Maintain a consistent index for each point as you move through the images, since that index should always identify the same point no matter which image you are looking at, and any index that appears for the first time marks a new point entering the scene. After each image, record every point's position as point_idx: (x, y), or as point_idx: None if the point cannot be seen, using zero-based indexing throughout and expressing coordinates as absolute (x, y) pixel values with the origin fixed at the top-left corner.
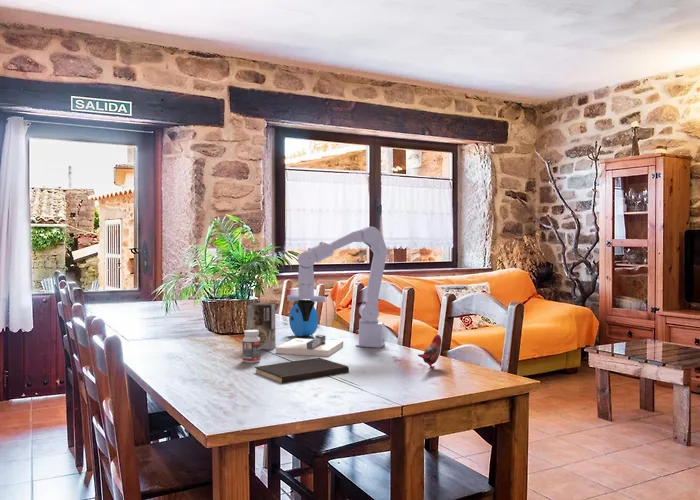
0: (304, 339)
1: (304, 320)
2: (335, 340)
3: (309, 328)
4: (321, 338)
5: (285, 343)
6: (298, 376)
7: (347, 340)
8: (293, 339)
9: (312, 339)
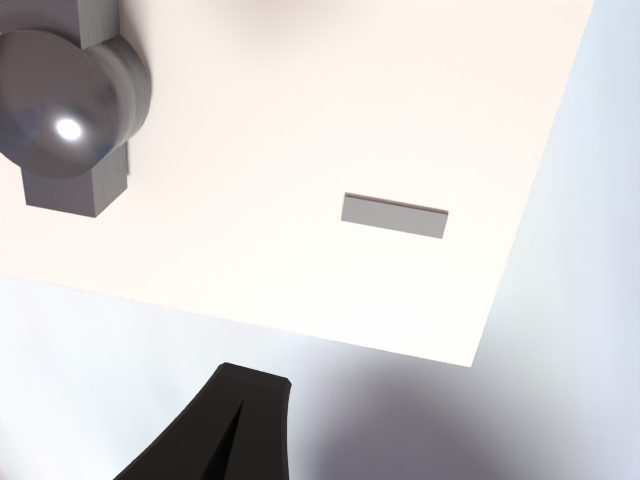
0: (347, 306)
1: (258, 378)
2: (14, 275)
3: None
4: (3, 23)
5: (566, 7)
6: None
7: (51, 456)
8: (477, 298)
9: (259, 310)
